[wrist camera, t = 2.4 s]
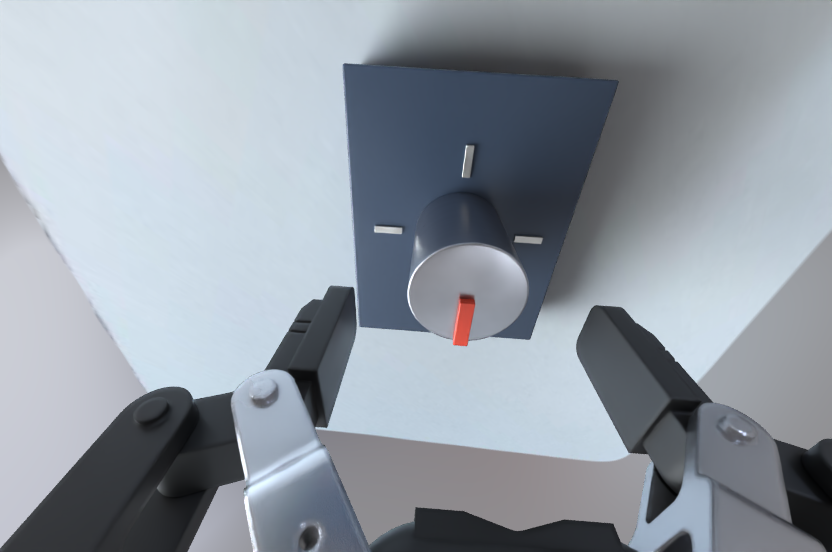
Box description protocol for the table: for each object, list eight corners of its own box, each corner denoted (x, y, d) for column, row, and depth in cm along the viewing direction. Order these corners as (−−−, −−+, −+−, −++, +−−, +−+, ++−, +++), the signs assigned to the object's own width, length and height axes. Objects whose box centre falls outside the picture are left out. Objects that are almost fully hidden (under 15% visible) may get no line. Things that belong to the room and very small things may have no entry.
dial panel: (357, 66, 15) (340, 62, 12) (588, 80, 15) (622, 80, 12) (367, 299, 22) (358, 329, 20) (519, 310, 22) (530, 342, 19)
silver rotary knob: (417, 189, 15) (409, 242, 10) (509, 195, 15) (547, 252, 10) (413, 267, 17) (404, 342, 12) (492, 273, 17) (515, 351, 12)
